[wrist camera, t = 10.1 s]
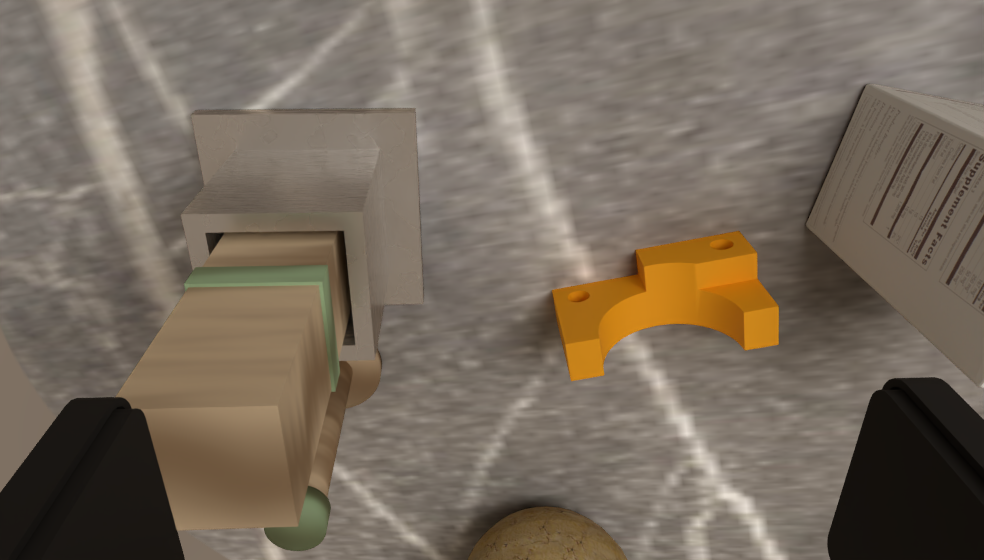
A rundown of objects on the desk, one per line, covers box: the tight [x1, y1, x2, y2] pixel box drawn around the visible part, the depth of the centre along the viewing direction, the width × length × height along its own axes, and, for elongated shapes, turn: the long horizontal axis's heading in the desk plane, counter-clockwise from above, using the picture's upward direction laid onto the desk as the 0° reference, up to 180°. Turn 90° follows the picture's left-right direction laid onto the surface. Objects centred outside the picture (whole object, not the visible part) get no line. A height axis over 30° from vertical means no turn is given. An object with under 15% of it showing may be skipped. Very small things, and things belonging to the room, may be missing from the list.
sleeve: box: [181, 108, 424, 361], centre depth 39 cm, size 12×12×10 cm
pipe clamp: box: [552, 231, 779, 381], centre depth 44 cm, size 12×4×6 cm, turn 100°
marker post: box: [264, 349, 382, 551], centre depth 42 cm, size 6×6×14 cm
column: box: [116, 231, 352, 530], centre depth 30 cm, size 6×6×15 cm
